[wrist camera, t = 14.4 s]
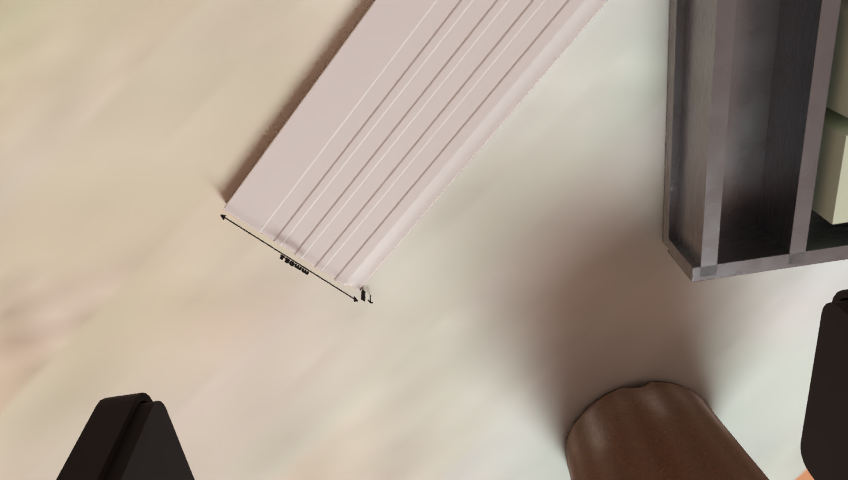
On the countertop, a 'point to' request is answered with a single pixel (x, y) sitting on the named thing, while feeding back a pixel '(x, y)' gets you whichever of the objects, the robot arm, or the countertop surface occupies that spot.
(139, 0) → the countertop surface
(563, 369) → the countertop surface
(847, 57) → the offcut
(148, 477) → the robot arm
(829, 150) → the offcut
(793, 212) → the rack
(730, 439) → the plant pot
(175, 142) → the countertop surface
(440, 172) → the baseboard
